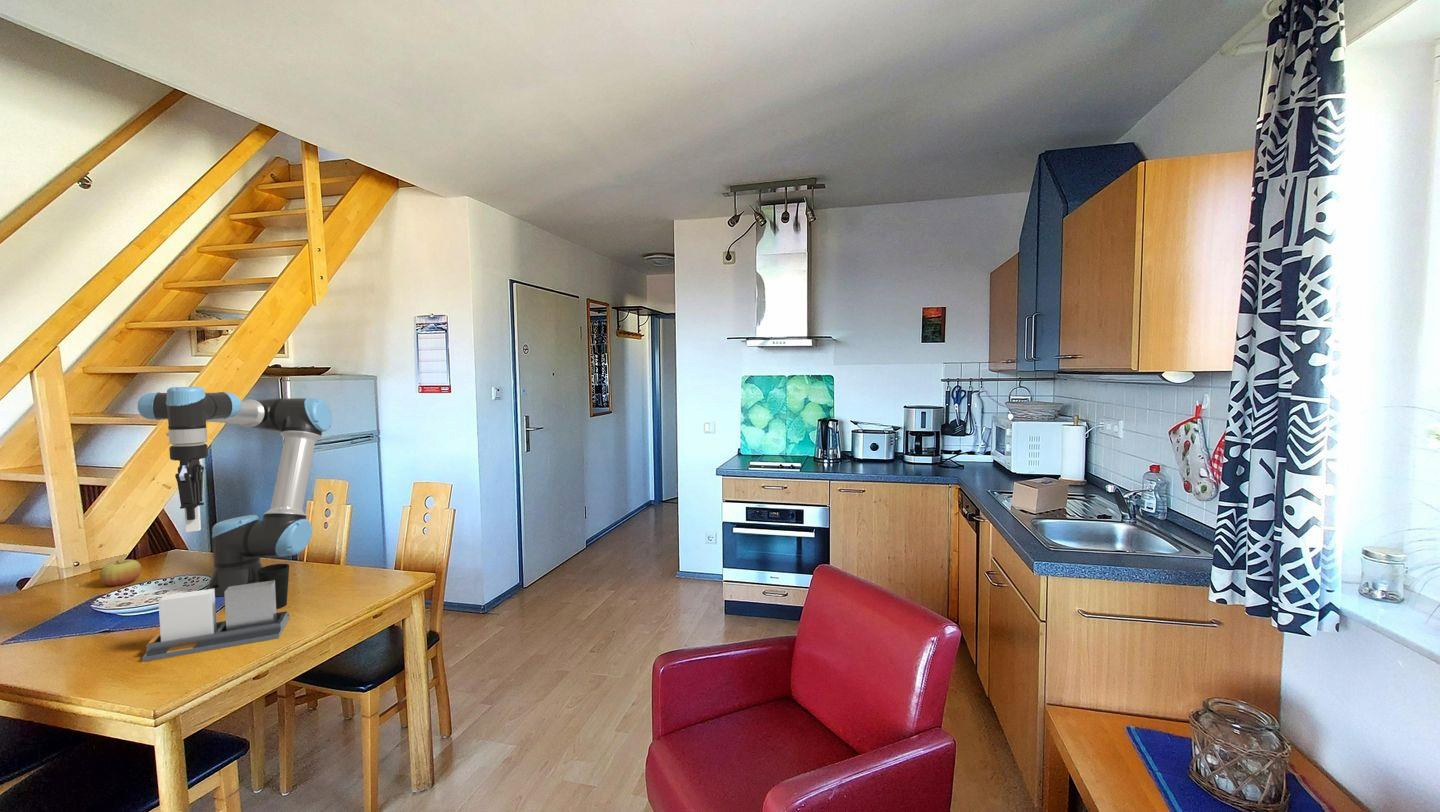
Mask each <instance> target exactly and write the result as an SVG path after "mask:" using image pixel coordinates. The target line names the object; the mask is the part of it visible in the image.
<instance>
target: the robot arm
mask: <svg viewBox="0 0 1440 812" xmlns="http://www.w3.org/2000/svg"><path fill="white" fill-rule="evenodd" d="M136 408H137V411H138V413H139V415H140V416H141V417H143V418H145V419H147V420H157V421H159V420H160V421H161V420H167V423H168V424H167V425H168V426H167V427H168V432H166V434H165V436H166V437H168V444H169V445H171V446H170V447H169V459H170V460H171V461H179V466H178V467H177V473H175V479H176V483H177V488H178V489H177V490H178V494H179V501H180V506H179V509H182V510H183V509H184V521H185V532H186V533H190V532H191V533H192V532H199V531H201V530H202V521H201V506H204V505H205V504H204V503H205V502H204V501H203V488H204V487H203V485H204V483H203V482H204V481H203V480H204V471H205V467H204V465H203V466H202V464H201V462H200V460H202V459H207V457H209V451H208V449H209V447H208V444H206V443H207V442H208V430H207V428H208V427H207V422H208V423H217V424H218V423H219V424H220V423H222V424H237V425H239V426H240V427H243V428H250V429H251V428H252V429H259V430H264V431H270V432H280V436H282V437H283V439H284V442H283V447H282V451H281V456H280V462H279V465H278V470H277V476H276V480H275V484H274V485H275V486H274V491H273V495H272V499H271V500H272V501H271V504H270V505H271V506H270V508H269V510H267V511H266V512H264V513H263V514H262V520H260V518H259V516H258V515H257V514H249V515H242V516H237V517H233V518H228V519H225V520H221V521H218V522H217V523H215V524H214V525H213V526H212V529H211V530H212V534H211V535H212V536H211V540H212V541H211V543H212V555H213V556H212V557H213V571H212V574H211V577H210V580H209V582H208V586H207V589H215V597H225V594H224V592H225V590H226V589H227V588H228V587H230V586H237V585H244V584H252V583H259V579H258V573H257V570H258V569H260V568H262V567H264V566H263V563H262V562H261V557H287V556H295V555H298V554H300V553H302V551H304V549H306V548H307V546H308V545H309V543H310V541H311V538H312V535H313V528H312V523H311V521H310V520H308V519H307V516H308V515H307V514H306V513H305V511H303V508H304V504H305V503H304V502H305V497H306V492H307V486H308V481H309V476H310V470H311V467H312V466H311V465H312V461H313V455H314V450H315V445H316V444H315V443H316V442H317V441H319V440H320V439H322V434H323V432H328V431H329V430H330V428H332V424H333V414H332V410H331V407H330V406H329V404H328V403H327V402H326V401H325V400H323V399H321V398H311V397H306V398H301V397H300V398H297V397H295V398H278V397H277V398H267V399H251V398H250V399H249V398H248V399H244V400H241V399H240V398H239V396H238V395H237V394H234V393H232V392H228V391H227V392H225V391H219V392H205V388H203V387H202V386H171V387H169V388H167V389H166V392H159V391H158V392H150V393H149V392H148V393H145V394H143V395H142V396H141V397H140V398H139V399H138V401H137V407H136Z"/></svg>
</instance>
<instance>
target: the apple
mask: <svg viewBox="0 0 1440 812" xmlns="http://www.w3.org/2000/svg"><path fill="white" fill-rule="evenodd" d="M141 573H142V565H141V563H140V562H139V561H137V560H135V559H122V560H116V561H113V562H110V563H108V564H105V565H104V566H103V567H102V568H101V569H100V571H99V580H100V581H101V582H102V583H103V584H105V585H106V586H108V587H117V586H118V587H119V586H123V585H124V586H125V585H128V584H130V583H133V582H134V581H135V580H137V579H138V578H139V577H140V575H142V574H141Z"/></svg>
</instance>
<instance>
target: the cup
mask: <svg viewBox="0 0 1440 812" xmlns="http://www.w3.org/2000/svg"><path fill="white" fill-rule="evenodd" d="M257 573H258V579H259V582H266V581H274V580H275V592H276V610H278V609H279V610H280V609H281V608H284V607H286V606H287V605H288V593H289V592H288V591H289V579H290V578H289V575H290V565H289V564H288V563H275V564H274V563H273V564H270V565H265V566H263V567H262V568H260V569H258V570H257Z"/></svg>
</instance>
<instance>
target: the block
mask: <svg viewBox="0 0 1440 812" xmlns="http://www.w3.org/2000/svg"><path fill="white" fill-rule="evenodd" d="M216 607H217V606H216V596H215V589H208V588H207V589H201V590H193V591H186V592H180V593H179V592H178V593H172V594H165V595H163V596H162V597H160V598H159V600H158V612H159V614H158V615H159V616H158V617H159V632H160V634H161V642H163V641H169V640H175V639H181V638H188V637H194V636H200V635H206V634H212V633H215V632H216V631H217V625H216V622H217V611H216V610H217V609H216Z"/></svg>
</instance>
